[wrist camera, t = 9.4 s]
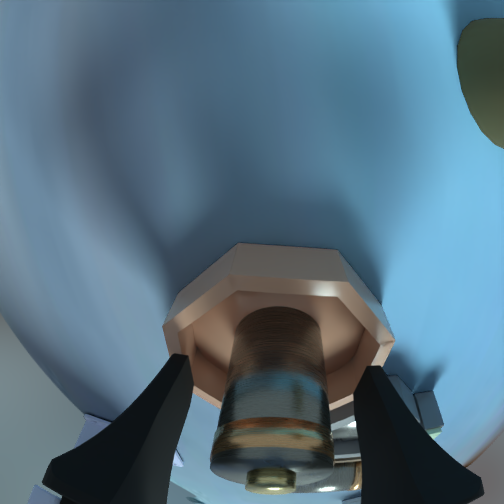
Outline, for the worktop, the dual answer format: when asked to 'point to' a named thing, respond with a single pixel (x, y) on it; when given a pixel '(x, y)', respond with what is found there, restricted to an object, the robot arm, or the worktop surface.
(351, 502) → the light bulb box
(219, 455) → the cell
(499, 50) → the cork
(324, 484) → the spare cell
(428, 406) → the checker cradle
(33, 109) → the worktop surface
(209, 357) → the cup
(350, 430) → the shiny silver dome
